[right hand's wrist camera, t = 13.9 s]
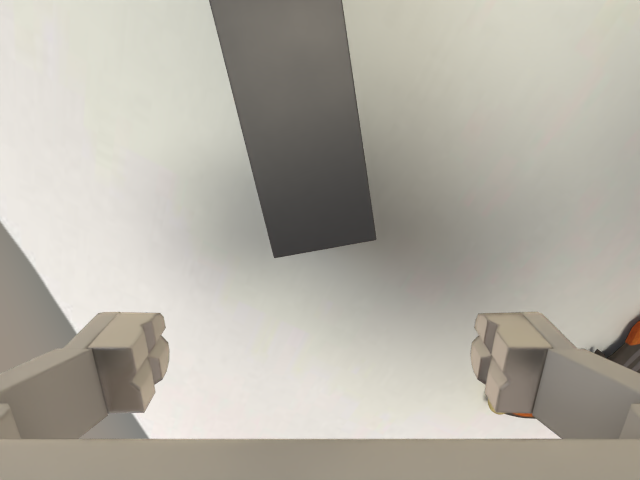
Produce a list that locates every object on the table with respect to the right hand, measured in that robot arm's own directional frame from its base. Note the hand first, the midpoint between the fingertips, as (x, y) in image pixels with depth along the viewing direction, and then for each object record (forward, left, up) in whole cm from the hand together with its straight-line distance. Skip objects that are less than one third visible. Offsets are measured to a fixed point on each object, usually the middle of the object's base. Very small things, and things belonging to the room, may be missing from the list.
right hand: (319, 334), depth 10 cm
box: (+6, -6, -23) cm, 25 cm away
